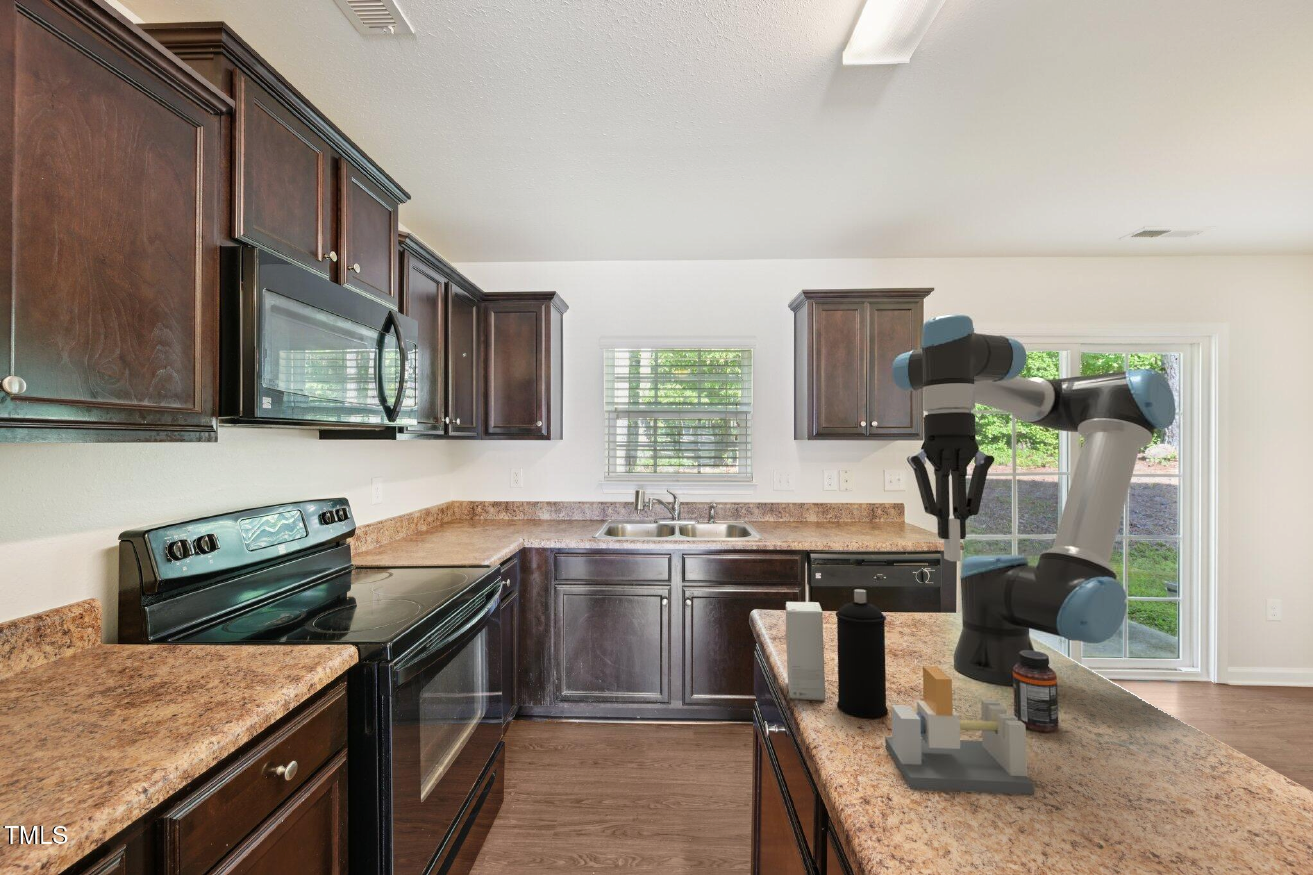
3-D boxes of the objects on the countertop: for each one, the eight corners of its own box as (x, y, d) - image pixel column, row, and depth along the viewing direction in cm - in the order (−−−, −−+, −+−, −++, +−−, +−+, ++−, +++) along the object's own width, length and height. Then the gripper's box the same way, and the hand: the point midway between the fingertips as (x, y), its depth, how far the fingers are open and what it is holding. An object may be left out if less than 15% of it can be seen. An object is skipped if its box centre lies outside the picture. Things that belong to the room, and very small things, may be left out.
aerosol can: (863, 723, 94) (861, 598, 95) (826, 704, 101) (824, 588, 102) (898, 713, 98) (896, 592, 99) (861, 695, 105) (859, 583, 106)
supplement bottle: (1016, 713, 97) (1014, 645, 98) (1059, 723, 94) (1057, 652, 94) (1011, 727, 93) (1010, 654, 93) (1057, 737, 89) (1055, 662, 89)
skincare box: (825, 702, 102) (824, 612, 103) (787, 699, 104) (785, 610, 104) (821, 684, 111) (820, 601, 111) (786, 681, 112) (785, 599, 112)
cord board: (992, 751, 85) (990, 695, 85) (1033, 794, 74) (1031, 730, 74) (885, 747, 86) (884, 692, 86) (910, 788, 75) (909, 725, 76)
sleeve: (946, 732, 83) (944, 666, 83) (961, 749, 78) (959, 679, 78) (916, 731, 83) (915, 665, 83) (930, 748, 78) (928, 678, 78)
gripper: (980, 414, 97) (984, 556, 97) (899, 415, 99) (902, 555, 98) (1002, 410, 90) (1006, 564, 89) (915, 411, 91) (918, 563, 90)
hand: (952, 559), depth 93 cm, fingers closed
